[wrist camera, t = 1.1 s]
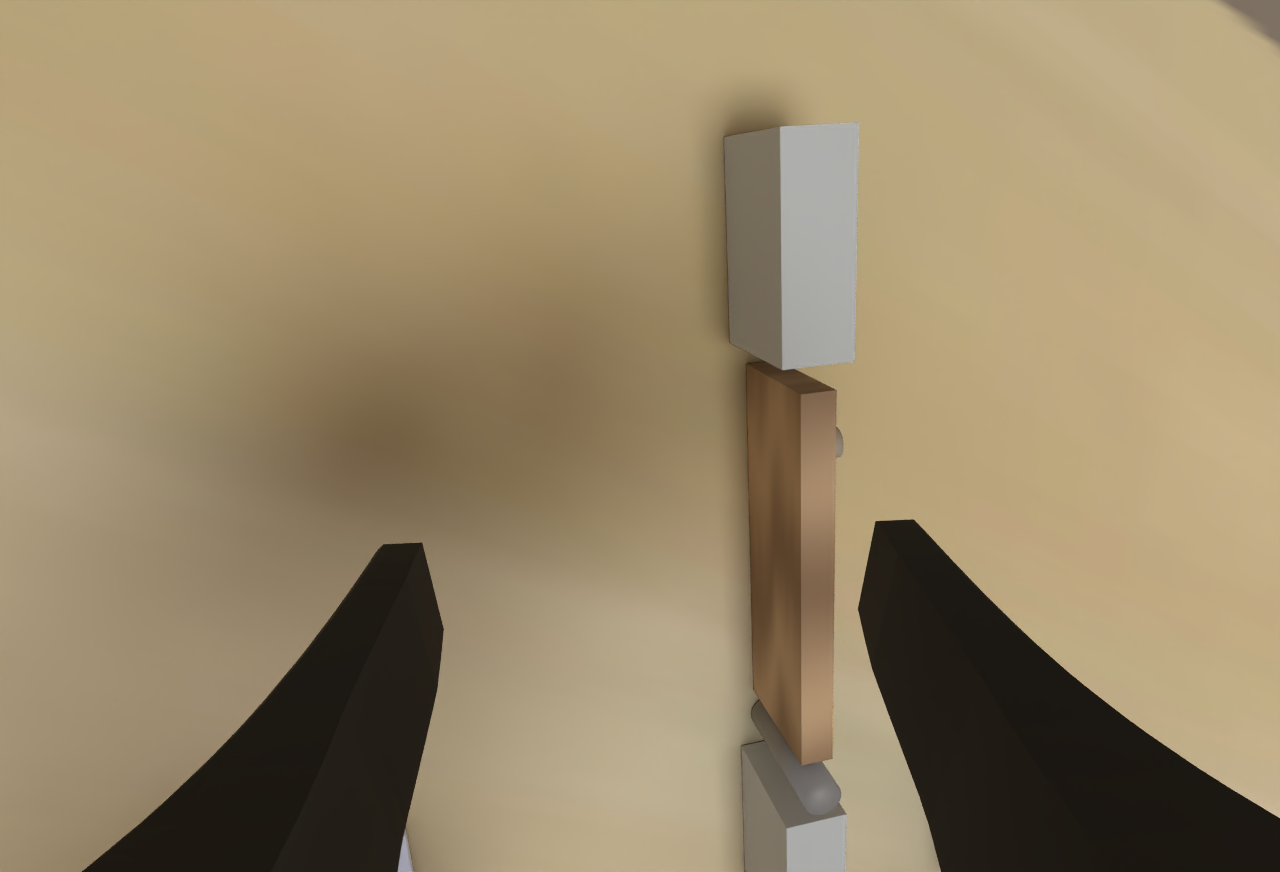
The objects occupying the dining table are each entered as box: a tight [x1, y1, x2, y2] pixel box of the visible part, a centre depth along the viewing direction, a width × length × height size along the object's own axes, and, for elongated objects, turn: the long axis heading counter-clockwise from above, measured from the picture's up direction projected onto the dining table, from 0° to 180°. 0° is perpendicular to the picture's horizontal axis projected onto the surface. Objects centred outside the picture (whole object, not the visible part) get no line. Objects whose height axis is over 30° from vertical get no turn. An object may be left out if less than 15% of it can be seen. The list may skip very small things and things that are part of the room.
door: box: [746, 362, 843, 765], centre depth 25 cm, size 12×2×4 cm, turn 4°
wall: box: [724, 122, 859, 872], centre depth 25 cm, size 26×2×4 cm, turn 4°
